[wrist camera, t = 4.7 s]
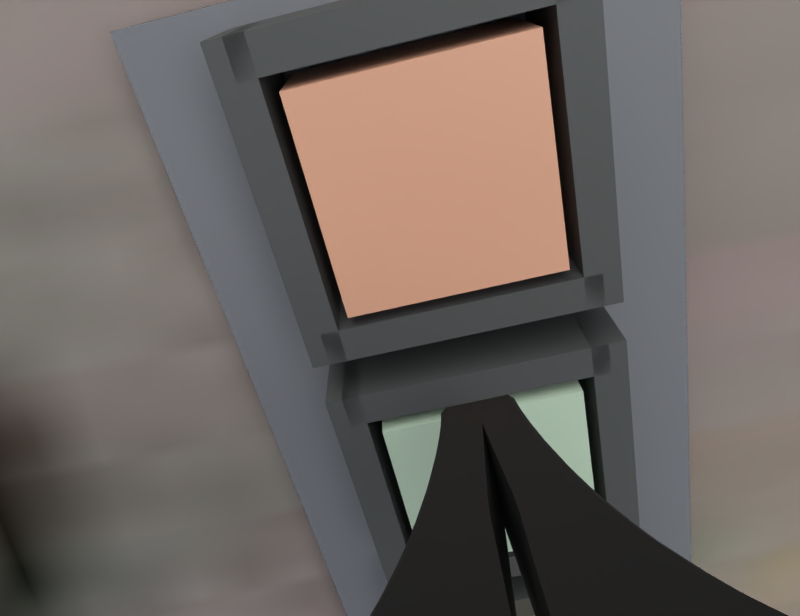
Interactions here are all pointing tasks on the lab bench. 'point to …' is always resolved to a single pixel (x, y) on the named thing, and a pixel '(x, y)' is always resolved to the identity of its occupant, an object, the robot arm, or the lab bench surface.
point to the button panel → (453, 315)
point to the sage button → (544, 407)
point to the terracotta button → (433, 165)
